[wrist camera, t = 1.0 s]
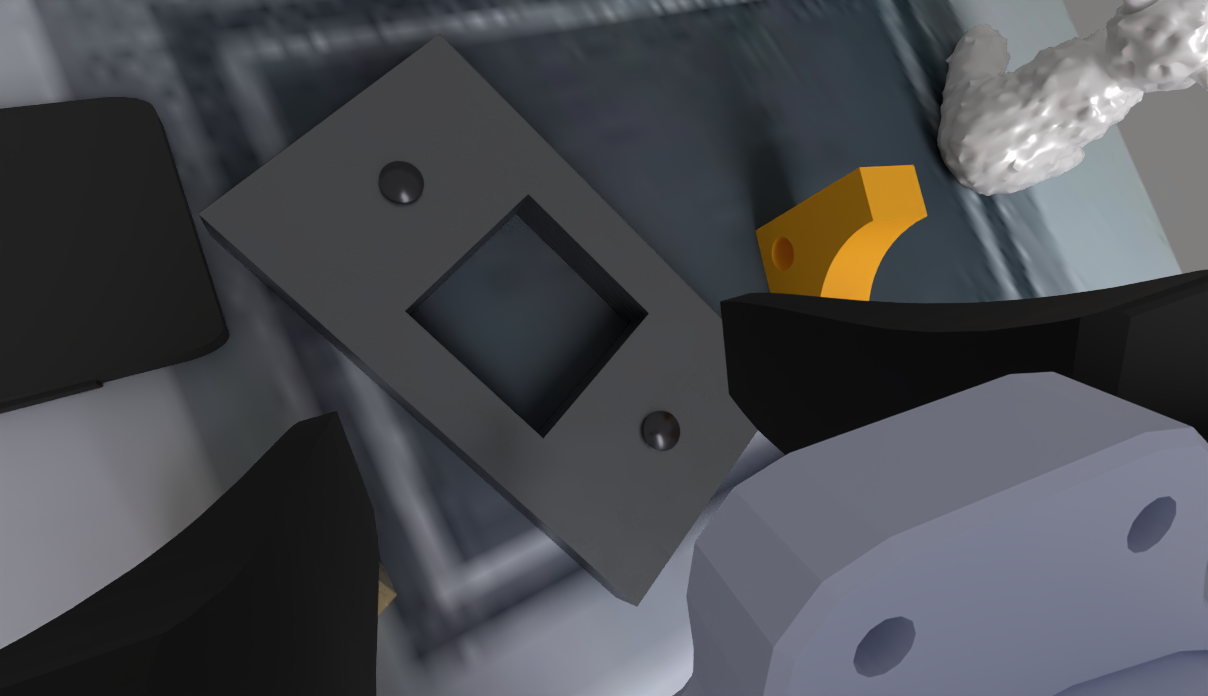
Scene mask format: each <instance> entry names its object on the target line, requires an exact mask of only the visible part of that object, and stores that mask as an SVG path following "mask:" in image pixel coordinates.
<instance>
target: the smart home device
mask: <svg viewBox="0 0 1208 696" xmlns="http://www.w3.org/2000/svg"><path fill="white" fill-rule="evenodd" d="M228 338H229V332H228V329H227V326H226V322H225V319H224V316H223V313H222V310H221V307H220V304H219V300H218V297H217V294H216V291H215V288H214V285H213V282H212V278H211V275H210V272H209V269H208V266H207V263H206V259H205V256H204V253H203V250H202V247H201V244H200V241H199V237H198V234H197V231H196V228H195V225H194V222H193V219H192V215H191V212H190V209H189V206H188V203H187V200H186V196H185V193H184V190H183V187H182V184H181V181H180V178H179V174H178V171H177V168H176V165H175V162H174V159H173V156H172V152H171V149H170V146H169V143H168V140H167V137H166V133H165V130H164V127H163V125H162V123H161V121H160V119H159V117H158V115H157V113H156V111H155V109H154V107H153V106H152V105H151V104H150V103H148V102H146V101H143V100H139V99H135V98H126V97H107V98H96V99H86V100H77V101H68V102H59V103H50V104H40V105H31V106H22V107H13V108H4V109H0V414H1V413H4V412H8V411H12V410H16V409H20V408H24V407H28V406H31V405H35V404H39V403H43V402H47V401H51V400H54V399H58V398H62V397H66V396H70V395H74V394H78V393H81V392H85V391H89V390H93V389H97V388H101V387H103V385H102V383H104V382H108V381H112V380H116V379H120V378H124V377H128V376H131V375H135V374H139V373H143V372H147V371H151V370H155V369H159V368H162V367H166V366H170V365H174V364H178V363H182V362H186V361H189V360H193V359H196V358H199V357H202V356H204V355H207V354H209V353H211V352H213V351H215V350H217V349H218V348H220V347H221V346H222V345H224V344H225V343H226V341H227V340H228Z"/></svg>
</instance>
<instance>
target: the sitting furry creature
mask: <svg viewBox="0 0 1208 696" xmlns="http://www.w3.org/2000/svg"><path fill="white" fill-rule="evenodd" d="M1123 1H1124V4H1123V5H1122V6H1121V7H1119V8H1118V9H1117V11H1116V14H1115V16H1114V17H1113V18H1111V19H1110V20H1109V21H1108V22H1107V25H1106V28H1107V30H1105V29H1100V30H1097V31H1096V32H1094V33H1093V34H1091V35H1090V36H1088V37H1087V38H1084V39H1080V38H1076V37H1075V38H1073V39H1071V40H1068V41H1066V42H1064V43H1061V44H1059V45H1057V46H1056V47H1048V48H1047V49H1045V50H1041V51H1039V53H1038V54H1037V55H1036V57H1035V58H1034V59H1033V60H1032V61H1031V62H1030V63H1027V64H1025V65H1023V66H1021V67H1020V68H1018V69H1017V70H1016V71H1015V72H1008V73H1006V74H1005V75H1004V73H1005V70H1006V67H1007V65H1008V62H1009V60H1010V55H1009V53H1008V52H1007V39H1006V38H1004V37H1002V36H1001V35H1000V33H999V31H998V30H994V29H993V28H992V27H991V26H990V25H987V24H983V25H978V26H975V27H973V28H972V29H970V30H969V31H968V32H966V34H965V35H964V36H963V37H962V38H961V39H960V40H959V42H958V43H957V45H956V47H955V50H954V52H953V54H952V55H951V56H950V57H949V58H947V59H946V62H947V63H948V64H949V70H948V73H947V77H946V84H945V88H944V90H943V92H942V95H943V104H942V105H941V107H940V108H941V116H942V118H941V122H940V127H939V129H938V137H937V142H938V144H937V146H938V148H939V150H940V152H941V153H940V156H941V158H942V159H943V161H944V163H945V165H946V166H947V168H948V169H949V170H950V172H951V173H952V174H953V175H954V176H955V178H956V179H957V180H958V182H959V183H960V184H963V185H964V186H965V187H969V188H971V189H972V190H973V191H976V192H977V193H979V194H984V195H986V196H989V195H992V194H994V193H1013V192H1015V191H1018V190H1024V189H1025V188H1027V187H1029V186H1032V185H1035V184H1036V183H1038V182H1041V181H1043V180H1046V179H1048V178H1049V177H1053V178H1054V177H1057V176H1060V174H1062V173H1065V172H1066V171H1068V170H1070V169H1072V168H1074V167H1075V166H1076V165H1078V164H1079V163H1080V162H1081V161H1082V160H1083V159H1084V156H1085V152H1084V151H1083V149H1082V148H1081V147H1084V146H1085V145H1086V144H1088V143H1089V142H1090V141H1092V140H1096V139H1100V138H1102V136H1103V135H1104V134H1105V132H1106V131H1107V129H1108V127H1109V126H1111V125H1113V124H1115V123H1118V122H1119V121H1120V120H1123V118H1124V115H1126V114H1127V113H1128V112H1129V110H1130V107H1132V106H1134V105H1135V104H1136V103H1137V102H1140V101H1141V100H1142V96H1143V93H1144V92H1154V91H1169V90H1175V89H1185V88H1188V87H1190V86H1191V85H1193V84H1194V83H1196V82H1197V83H1198V84H1199V85H1200V86H1202V87H1203V88H1204V89H1205V90H1206V91H1208V0H1123ZM1003 75H1004V76H1003Z"/></svg>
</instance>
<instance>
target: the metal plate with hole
mask: <svg viewBox="0 0 1208 696" xmlns="http://www.w3.org/2000/svg"><path fill="white" fill-rule="evenodd" d="M515 214H517V215H518V216H519V217H520V218H521V219H522V220H524V221H525V222H526V223H527V224H528V225H529V226H530V227H531V228H532V229H533V230H534V231H535V232H536V233H537V234H538V235H539V236H540V237H541V238H542V239H543V240H544V241H545V242H546V243H547V244H548V245H549V246H550V247H551V248H552V249H553V250H554V251H555V252H556V253H557V254H558V255H559V256H560V257H561V258H562V259H563V260H564V261H565V262H566V263H567V264H568V265H569V266H570V267H571V268H572V269H573V270H575V271H576V272H577V273H578V274H579V275H580V276H581V277H582V278H583V279H584V280H585V281H586V282H587V283H588V284H589V285H590V286H591V287H592V288H593V289H594V290H595V291H596V292H597V293H598V294H599V295H600V296H601V297H602V298H603V299H604V300H605V301H606V302H607V303H608V304H609V305H610V306H611V307H612V308H613V309H614V310H615V311H616V312H617V313H618V314H619V315H620V316H621V317H622V318H623V319H624V320H626V321H627V322H628V323H629V325H628V326H627V328H626V329H625V330H624V331H623V332H622V333H621V335H620V336H619V337H618V338H617V339H616V341H615V342H614V343H613V344H612V345H611V346H610V348H609V349H608V350H607V351H606V352H605V353H604V355H603V356H602V357H601V358H600V359H599V360H598V362H597V363H596V364H595V365H594V366H593V367H592V369H591V370H590V371H589V372H588V373H587V375H586V376H585V377H584V378H583V379H582V380H581V382H580V383H579V384H578V385H577V386H576V387H575V389H574V390H573V391H572V392H571V393H570V394H569V396H568V397H567V398H566V399H565V400H564V401H563V403H562V404H561V405H560V406H559V407H558V409H557V410H556V411H555V412H554V413H553V414H552V416H551V417H550V418H549V419H548V420H547V421H546V423H545V424H544V425H543V426H542V427H541V428H540V430H539V431H538V432H536V431H535V430H533V429H532V428H531V427H530V426H529V425H528V424H527V423H526V422H525V421H524V420H523V419H522V418H520V417H519V416H518V415H517V414H516V413H515V412H514V411H513V410H512V409H511V408H510V407H508V406H507V405H506V404H505V403H504V402H503V401H502V400H501V399H500V398H499V397H498V396H497V395H495V394H494V393H493V392H492V391H491V390H490V389H489V388H488V387H487V386H486V385H485V384H484V383H482V382H481V381H480V380H479V379H478V378H477V377H476V376H475V375H474V374H473V373H472V372H470V371H469V370H468V369H467V368H466V367H465V366H464V365H463V364H462V363H461V362H460V361H459V360H457V359H456V358H455V357H454V356H453V355H452V354H451V353H450V352H449V351H448V350H447V349H445V348H444V347H443V346H442V345H441V344H440V343H439V342H438V341H437V340H436V339H435V338H434V337H432V336H431V335H430V334H429V333H428V332H427V331H426V330H425V329H424V328H423V327H422V326H420V325H419V324H418V323H417V322H416V321H415V320H414V319H413V318H412V317H411V316H410V314H411V313H412V312H413V311H414V310H415V309H416V308H417V307H418V306H419V305H420V304H421V303H422V302H424V301H425V300H426V299H427V298H428V297H429V296H430V295H431V294H432V293H433V292H434V291H435V290H436V289H437V288H438V287H439V286H440V285H441V284H442V283H443V282H444V281H445V280H447V279H448V278H449V277H450V276H451V275H452V274H453V273H454V272H455V271H456V270H457V269H458V268H459V267H460V266H461V265H462V264H463V263H464V262H465V261H466V260H467V259H469V258H470V257H471V256H472V255H473V254H474V253H475V252H476V251H477V250H478V249H479V248H480V247H481V246H482V245H483V244H484V243H485V242H486V241H487V240H488V239H489V238H490V237H492V236H493V235H494V234H495V233H496V232H497V231H498V230H499V229H500V228H501V227H502V226H503V225H504V224H505V223H506V222H507V221H508V220H509V219H510V218H511V217H512V216H514V215H515ZM199 216H200V218H201V220H202V221H203V223H204V225H205V227H206V229H207V230H208V232H209V234H210V235H211V236H212V237H213V238H214V239H215V240H216V241H217V242H218V243H220V244H221V245H222V246H223V247H224V248H225V249H226V250H227V251H229V252H230V253H231V254H232V255H233V256H234V257H235V258H236V259H237V260H239V261H240V262H241V263H242V264H243V265H244V266H245V267H246V268H248V269H249V270H250V271H251V272H252V273H253V274H254V275H255V276H257V277H258V278H259V279H260V280H261V281H262V282H263V283H264V284H265V285H267V286H268V287H269V288H270V289H271V290H272V291H273V292H274V293H276V294H277V295H278V296H279V297H280V298H281V299H282V300H283V301H285V302H286V303H287V304H288V305H289V306H290V307H291V308H292V309H294V310H295V311H296V312H297V313H298V314H299V315H300V316H301V317H302V318H304V319H305V320H306V321H307V322H308V323H309V324H310V325H311V326H313V327H314V328H315V329H316V330H317V331H318V332H319V333H320V334H322V335H323V336H324V337H325V338H326V339H327V340H328V341H329V342H330V343H332V344H333V345H334V346H335V347H336V348H337V349H338V350H339V351H341V352H342V353H343V354H344V355H345V356H346V357H347V358H348V359H350V360H351V361H352V362H353V363H354V364H355V365H356V366H357V367H359V368H360V369H361V370H362V371H363V372H364V373H365V374H366V375H367V376H369V377H370V378H371V379H372V380H373V381H374V382H375V383H376V384H378V385H379V386H380V387H381V388H382V389H383V390H384V391H385V392H387V393H388V394H389V395H390V396H391V397H392V398H393V399H394V400H396V401H397V402H398V403H399V404H400V405H401V406H402V407H403V408H404V409H406V410H407V411H408V412H409V413H410V414H411V415H412V416H413V417H415V418H416V419H417V420H418V421H419V422H420V423H421V424H422V425H424V426H425V427H426V428H427V429H428V430H429V431H430V432H431V433H432V434H434V435H435V436H436V437H437V438H438V439H439V440H440V441H441V442H443V443H444V444H445V445H446V446H447V447H448V448H449V449H450V450H452V451H453V452H454V453H455V454H456V455H457V456H458V457H459V458H461V459H462V460H463V461H464V462H465V463H466V464H467V465H468V466H469V467H471V468H472V469H473V470H474V471H475V472H476V473H477V474H478V475H480V476H481V477H482V478H483V479H484V480H485V481H486V482H487V483H489V484H490V485H491V486H492V487H493V488H494V489H495V490H496V491H498V492H499V493H500V494H501V495H502V496H503V497H504V498H505V499H506V500H508V501H509V502H510V503H511V504H512V505H513V506H514V507H515V508H517V509H518V510H519V511H520V512H521V513H522V514H523V515H524V516H526V517H527V518H528V519H529V520H530V521H531V522H532V523H533V524H534V525H536V526H537V527H538V528H539V529H540V530H541V531H542V532H543V533H545V534H546V535H547V536H548V537H549V538H550V539H551V540H552V541H554V542H555V543H556V544H557V545H558V546H559V547H560V548H561V549H563V550H564V551H565V552H566V553H567V554H568V555H569V556H570V557H571V558H573V559H574V560H575V561H576V562H577V563H578V564H579V565H580V566H582V567H583V568H584V569H585V570H586V571H587V572H588V573H589V574H591V575H592V576H593V577H594V578H595V579H596V580H597V581H598V582H599V583H601V584H602V585H603V586H604V587H605V588H606V589H607V590H608V591H610V592H611V593H612V594H613V595H614V596H615V597H616V598H619V599H621V600H623V601H625V602H628V603H630V604H632V605H635V606H638V605H639V603H640V602H641V600H642V599H643V597H644V596H645V594H646V593H647V591H648V590H649V588H650V587H651V586H652V584H653V583H654V581H655V580H656V578H657V577H658V575H659V574H660V572H661V571H662V569H663V568H664V567H665V565H666V564H667V562H668V561H669V559H670V558H671V556H672V555H673V553H674V552H675V550H676V549H677V548H678V546H679V545H680V543H681V542H682V540H683V539H684V537H685V536H686V534H687V533H688V531H689V530H690V528H691V527H692V526H693V524H694V523H695V521H696V520H697V518H698V517H699V515H700V514H701V512H702V511H703V509H704V508H705V507H706V505H707V504H708V502H709V501H710V499H711V498H712V496H713V495H714V493H715V492H716V490H717V489H718V488H719V486H720V485H721V483H722V482H723V480H724V479H725V477H726V476H727V474H728V473H729V471H730V470H731V468H732V467H733V466H734V464H735V463H736V461H737V460H738V458H739V457H740V455H741V454H742V452H743V451H744V449H745V448H746V447H747V445H748V444H749V442H750V441H751V439H752V438H753V436H754V435H755V433H756V432H757V430H758V429H756V427H755V426H754V425H753V424H752V423H751V422H750V420H749V419H748V418H747V417H746V416H745V414H744V413H743V412H742V411H741V409H740V408H739V407H738V406H737V404H736V403H735V402H734V400H733V399H732V398H731V397H730V395H729V390H728V379H727V369H726V358H725V347H724V337H723V326H722V319H721V318H720V317H719V316H718V315H717V314H716V313H715V312H714V311H713V310H712V309H711V308H710V307H709V306H708V305H707V304H706V303H705V302H704V301H703V300H702V299H701V298H700V297H699V296H698V295H697V294H696V293H695V292H694V291H693V290H692V289H691V288H690V287H689V286H688V285H687V284H686V283H685V282H684V281H683V280H682V278H681V277H680V276H679V275H678V274H677V273H676V272H675V271H674V270H673V269H672V268H671V267H670V266H669V265H668V264H667V263H666V262H665V261H664V260H663V259H662V258H661V257H660V256H659V255H658V254H657V253H656V252H655V251H654V250H653V249H652V248H651V247H650V246H649V245H648V244H647V243H646V242H645V241H644V240H643V239H642V238H641V237H640V236H639V235H638V234H637V233H636V232H635V231H634V230H633V229H632V228H631V227H630V226H629V225H628V224H627V223H626V222H625V221H624V220H623V219H622V218H621V217H620V216H619V215H618V214H617V213H616V212H615V211H614V210H613V209H612V208H611V207H610V206H609V205H608V204H607V203H606V202H605V201H604V200H603V199H602V198H601V197H600V196H599V195H598V194H597V193H596V192H595V191H594V190H593V189H592V188H591V187H590V185H589V184H588V183H587V182H586V181H585V180H584V179H583V178H582V177H581V176H580V175H579V174H578V173H577V172H576V171H575V170H574V169H573V168H572V167H571V166H570V165H569V164H568V163H567V162H566V161H565V160H564V159H563V158H562V157H561V156H560V155H559V154H558V153H557V152H556V151H555V150H554V149H553V148H552V147H551V146H550V145H549V144H548V143H547V142H546V141H545V140H544V139H543V138H542V137H541V136H540V135H539V134H538V133H537V132H536V131H535V130H534V129H533V128H532V127H531V126H530V125H529V124H528V123H527V122H526V121H525V120H524V119H523V118H522V117H521V116H520V115H519V114H518V113H517V112H516V111H515V110H514V109H513V108H512V107H511V106H510V105H509V104H508V103H507V102H506V101H505V100H504V99H503V98H502V97H501V96H500V95H499V94H498V93H497V91H496V90H495V89H494V88H493V87H492V86H491V85H490V84H489V83H488V82H487V81H486V80H485V79H484V78H483V77H482V76H481V75H480V74H479V73H478V72H477V71H476V70H475V69H474V68H473V67H472V66H471V65H470V64H469V63H468V62H467V61H466V60H465V59H464V58H463V57H462V56H461V55H460V54H459V53H458V52H457V51H456V50H455V49H454V48H453V47H452V46H451V45H450V44H449V43H448V42H447V41H446V40H445V39H444V38H443V37H442V36H441V35H440V34H439V35H438V36H436V37H435V38H434V39H432V40H431V41H429V42H428V43H427V44H425V45H424V46H423V47H421V48H420V49H419V50H417V51H416V52H415V53H413V54H412V55H411V56H409V57H408V58H407V59H405V60H404V61H403V62H401V63H400V64H399V65H397V66H396V67H395V68H393V69H392V70H391V71H389V72H388V73H387V74H385V75H384V76H383V77H381V78H380V79H379V80H377V81H376V82H374V83H373V84H372V85H370V86H369V87H368V88H366V89H365V90H364V91H362V92H361V93H360V94H358V95H357V96H356V97H354V98H353V99H352V100H350V101H349V102H348V103H346V104H345V105H344V106H342V107H341V108H340V109H338V110H337V111H336V112H334V113H333V114H332V115H330V116H329V117H328V118H326V119H325V120H324V121H322V122H321V123H320V124H318V125H317V126H315V127H314V128H313V129H311V130H310V131H309V132H307V133H306V134H305V135H303V136H302V137H301V138H299V139H298V140H297V141H295V142H294V143H293V144H291V145H290V146H289V147H287V148H286V149H285V150H283V151H282V152H281V153H279V154H278V155H277V156H275V157H274V158H273V159H271V160H270V161H269V162H267V163H266V164H265V165H263V166H262V167H260V168H259V169H258V170H256V171H255V172H254V173H252V174H251V175H250V176H248V177H247V178H246V179H244V180H243V181H242V182H240V183H239V184H238V185H236V186H235V187H234V188H232V189H231V190H230V191H228V192H227V193H226V194H224V195H223V196H222V197H220V198H219V199H218V200H216V201H215V202H214V203H212V204H211V205H210V206H208V207H207V208H206V209H204V210H203V211H201V212H200V213H199Z"/></svg>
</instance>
